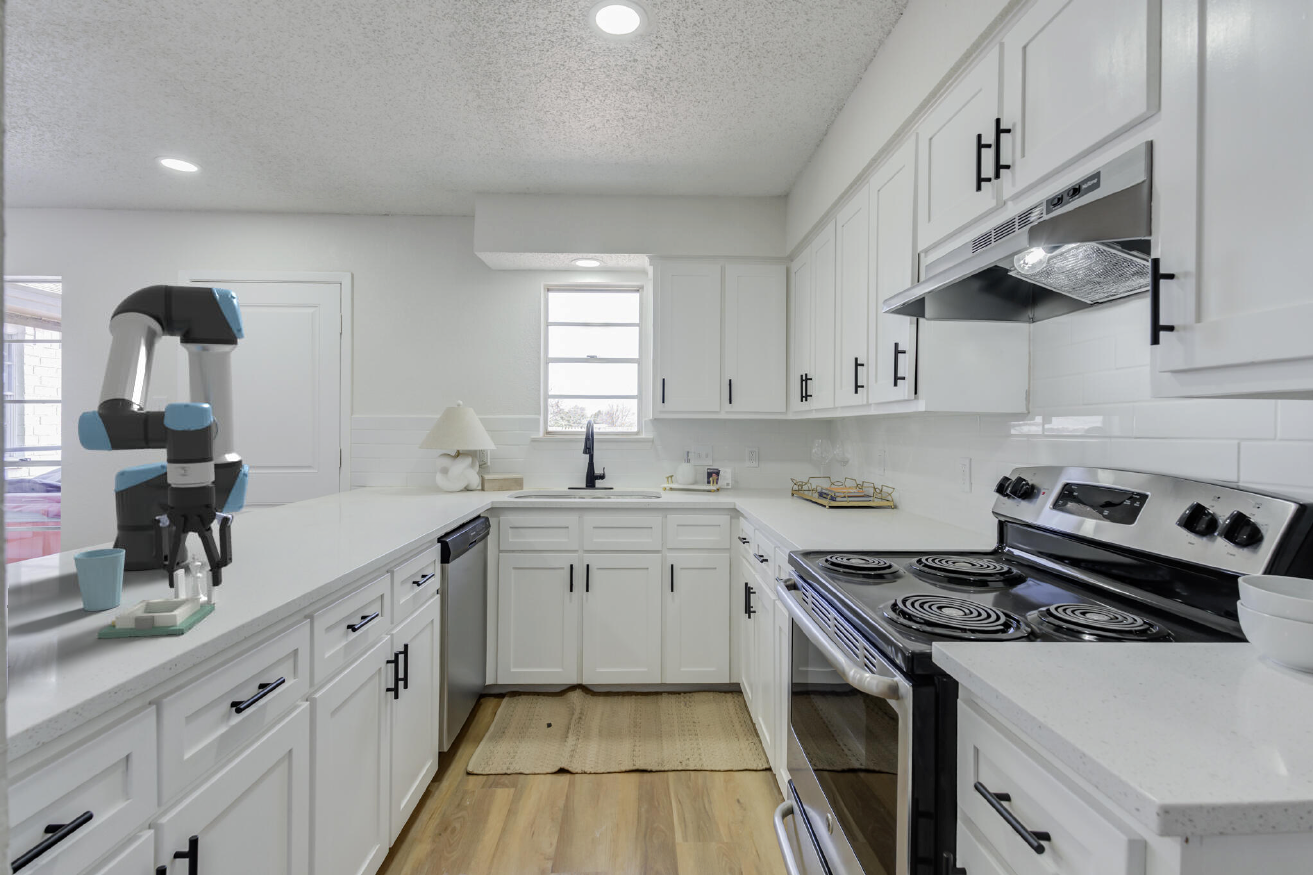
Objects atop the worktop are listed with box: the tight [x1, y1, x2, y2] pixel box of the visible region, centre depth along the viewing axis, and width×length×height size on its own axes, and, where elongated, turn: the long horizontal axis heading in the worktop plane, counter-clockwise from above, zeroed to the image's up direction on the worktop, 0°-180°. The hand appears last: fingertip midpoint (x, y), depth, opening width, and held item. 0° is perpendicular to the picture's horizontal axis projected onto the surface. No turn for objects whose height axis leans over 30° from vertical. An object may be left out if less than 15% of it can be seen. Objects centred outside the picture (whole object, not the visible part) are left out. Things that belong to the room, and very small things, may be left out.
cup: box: [73, 548, 125, 612], centre depth 136 cm, size 8×8×10 cm
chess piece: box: [188, 553, 208, 605], centre depth 137 cm, size 5×5×10 cm
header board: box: [97, 597, 216, 639], centre depth 127 cm, size 13×13×3 cm
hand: (196, 602), depth 138 cm, fingers closed on chess piece, 5 cm apart
